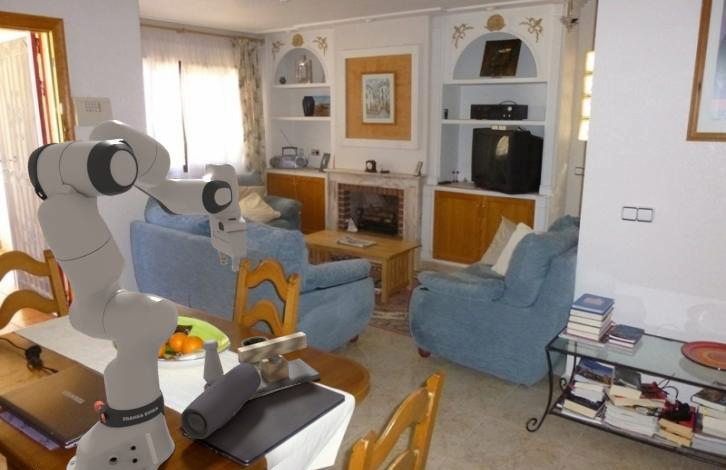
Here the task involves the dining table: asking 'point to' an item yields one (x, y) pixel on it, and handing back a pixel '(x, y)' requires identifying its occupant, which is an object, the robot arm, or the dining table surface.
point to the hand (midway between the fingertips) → (229, 267)
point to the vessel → (253, 341)
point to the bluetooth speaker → (220, 401)
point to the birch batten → (272, 348)
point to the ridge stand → (283, 373)
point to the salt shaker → (212, 362)
